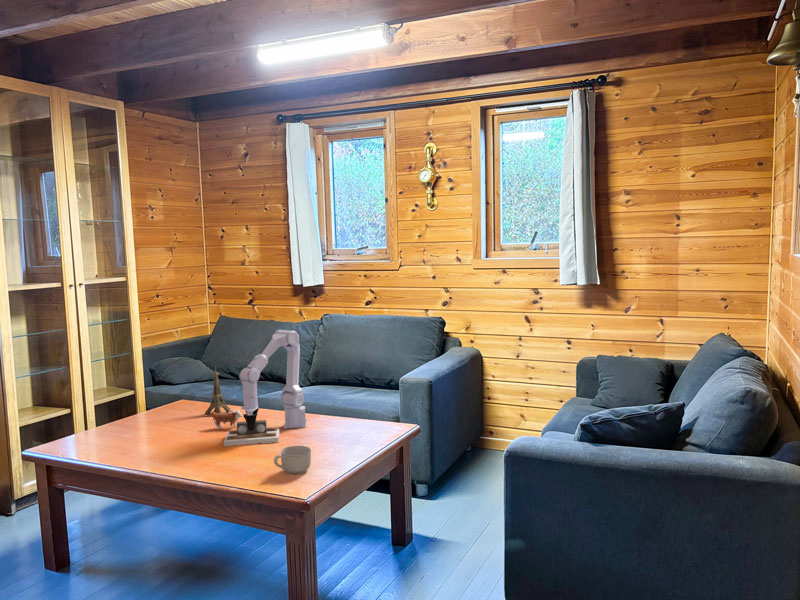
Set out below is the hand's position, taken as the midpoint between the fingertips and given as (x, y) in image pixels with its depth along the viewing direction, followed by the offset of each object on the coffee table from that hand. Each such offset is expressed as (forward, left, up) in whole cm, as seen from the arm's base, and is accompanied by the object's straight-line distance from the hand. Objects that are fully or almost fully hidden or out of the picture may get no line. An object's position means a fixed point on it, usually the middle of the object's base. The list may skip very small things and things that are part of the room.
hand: (252, 428), depth 265 cm
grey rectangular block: (0, 0, -3) cm, 3 cm away
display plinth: (0, 0, -5) cm, 5 cm away
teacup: (-17, +45, -5) cm, 48 cm away
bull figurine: (+12, -21, -5) cm, 25 cm away
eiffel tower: (+20, -49, -5) cm, 53 cm away
